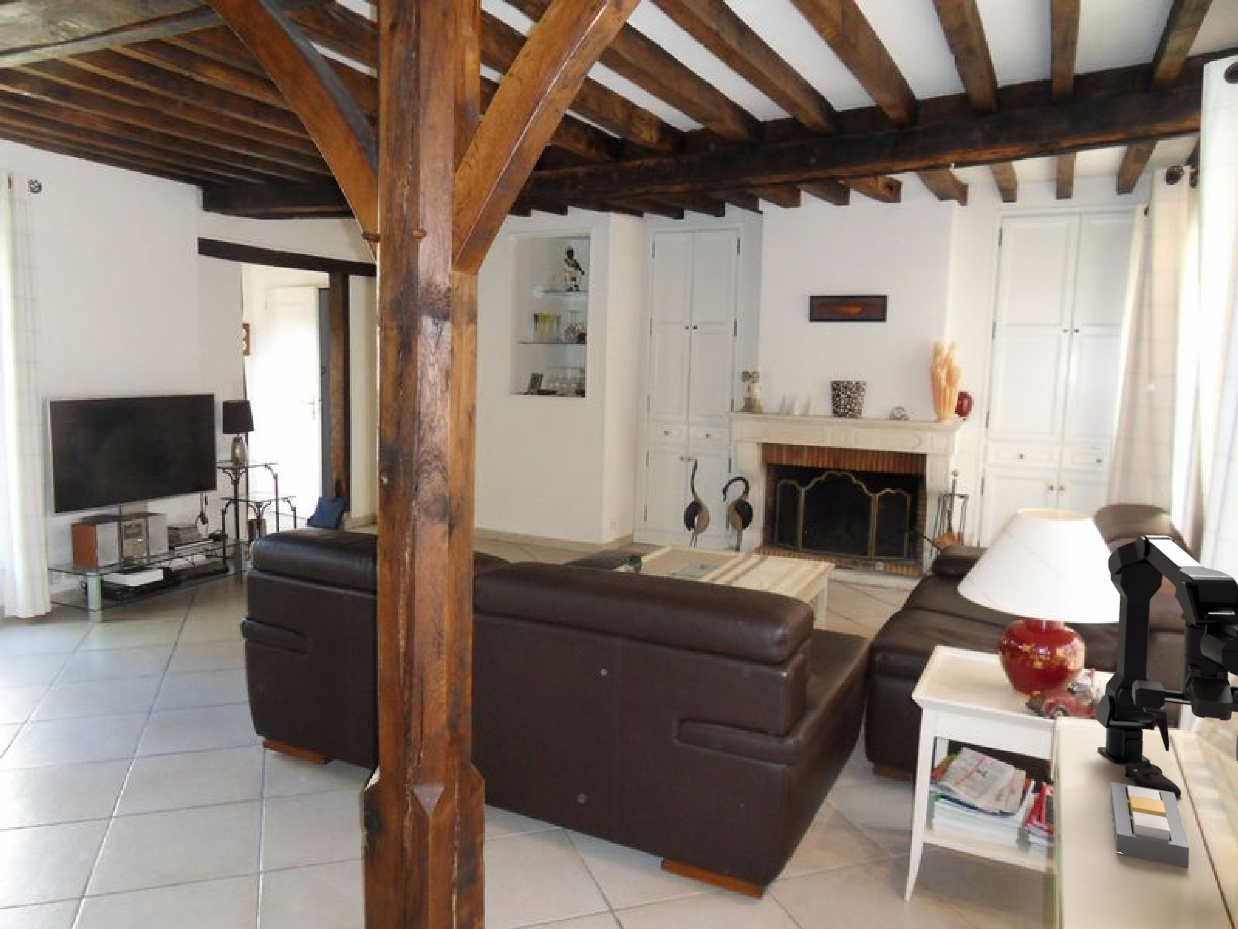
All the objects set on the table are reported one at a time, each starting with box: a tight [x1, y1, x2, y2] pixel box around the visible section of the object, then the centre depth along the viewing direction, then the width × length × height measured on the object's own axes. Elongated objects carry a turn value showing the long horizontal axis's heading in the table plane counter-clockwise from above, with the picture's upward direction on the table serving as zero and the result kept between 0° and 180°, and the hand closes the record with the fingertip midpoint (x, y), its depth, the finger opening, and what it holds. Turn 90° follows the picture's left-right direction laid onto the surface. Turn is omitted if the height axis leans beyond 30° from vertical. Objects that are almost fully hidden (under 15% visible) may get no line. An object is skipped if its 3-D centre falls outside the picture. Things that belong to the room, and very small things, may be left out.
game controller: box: [1124, 761, 1182, 799], centre depth 151 cm, size 10×5×6 cm
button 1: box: [1127, 785, 1161, 800], centre depth 141 cm, size 4×4×2 cm
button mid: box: [1130, 795, 1165, 817], centre depth 135 cm, size 4×4×2 cm
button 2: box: [1132, 811, 1170, 841], centre depth 130 cm, size 4×4×2 cm
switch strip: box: [1109, 781, 1190, 868], centre depth 135 cm, size 19×9×3 cm, turn 153°
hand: (1202, 755), depth 134 cm, fingers open, 9 cm apart
